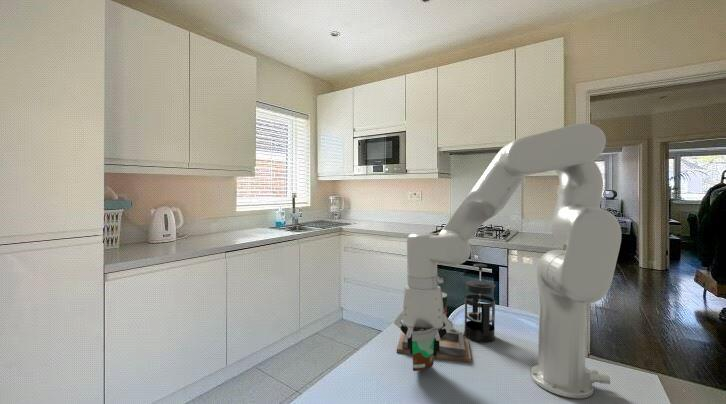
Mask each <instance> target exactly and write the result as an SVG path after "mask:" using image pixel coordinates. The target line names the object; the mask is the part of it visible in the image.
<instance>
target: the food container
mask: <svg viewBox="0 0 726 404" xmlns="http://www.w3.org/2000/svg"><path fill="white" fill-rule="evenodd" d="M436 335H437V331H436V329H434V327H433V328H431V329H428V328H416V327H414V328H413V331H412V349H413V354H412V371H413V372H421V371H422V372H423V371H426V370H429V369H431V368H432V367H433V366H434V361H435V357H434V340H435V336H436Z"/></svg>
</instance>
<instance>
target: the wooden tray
mask: <svg viewBox="0 0 726 404" xmlns="http://www.w3.org/2000/svg"><path fill="white" fill-rule="evenodd" d="M398 352H399V353H400V354H405V353H407V354H408V355H411V354H410V349H408V338H407V337H406V335H405V334H404V333H403V332H402V331H401V333H400V337H399V340H398V343H397V345H396V353H398ZM407 354H406V355H407ZM435 358H436V359H442V360H449V361H450V360H451V361H459V362H466V363H467V362H468V363H472V356H471V351H470V345H469V339H467V338H464V332H459V331H452V330H450V331H449V332H447V333H446V334H445V335H444V336H443V337H442V338H441V339H440V340H439V352H437V357H436V356H434V359H435Z"/></svg>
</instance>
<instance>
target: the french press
mask: <svg viewBox="0 0 726 404" xmlns="http://www.w3.org/2000/svg"><path fill="white" fill-rule="evenodd" d="M473 266H474V267H477V268H478V272H479V279H469V280H466V281H465V285H466V290H467V291H468V292H469V293H473V294H468V295H465V296H464V331H463V337H465V339H468V341H469V340H470V341H472V342H475V343H481V344H490V343H493V342H495V340H496V336H495V332H496V331H495V316H496V315H495V311H496V299H495V298H493V297H490V296H487V295H490V294H494V291H495V290H494V289H495V288H496V284H495V283H493V282H491V281H487V280H482V271H483V268H487V267H488V265H487V264H483V263H474V264H473ZM471 299H472V300H471ZM481 300H485V301H488V302H490V303H487V302H486V303H484V302H483V303H482V302H481ZM468 306H471V307H472V311H468ZM490 309H491V310H490ZM490 313H491V314H490Z"/></svg>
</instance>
